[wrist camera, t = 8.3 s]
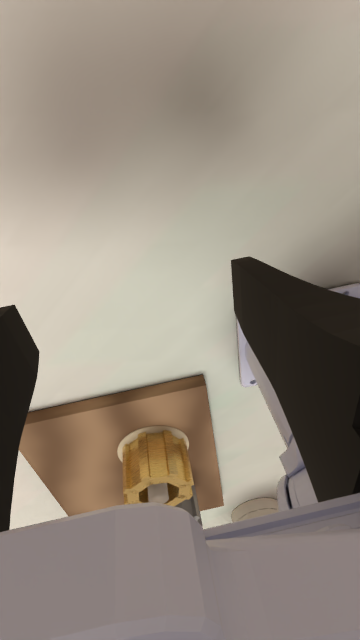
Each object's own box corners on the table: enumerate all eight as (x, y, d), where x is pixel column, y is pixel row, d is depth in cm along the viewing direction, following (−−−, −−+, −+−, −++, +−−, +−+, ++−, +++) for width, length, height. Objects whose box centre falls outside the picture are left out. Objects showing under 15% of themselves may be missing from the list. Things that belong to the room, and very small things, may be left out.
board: (202, 374, 28) (220, 434, 23) (221, 495, 39) (235, 551, 35) (7, 417, 27) (-15, 486, 22) (85, 526, 39) (81, 587, 34)
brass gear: (187, 427, 29) (195, 470, 26) (183, 465, 32) (191, 507, 29) (121, 434, 28) (121, 479, 25) (124, 471, 32) (125, 516, 28)
